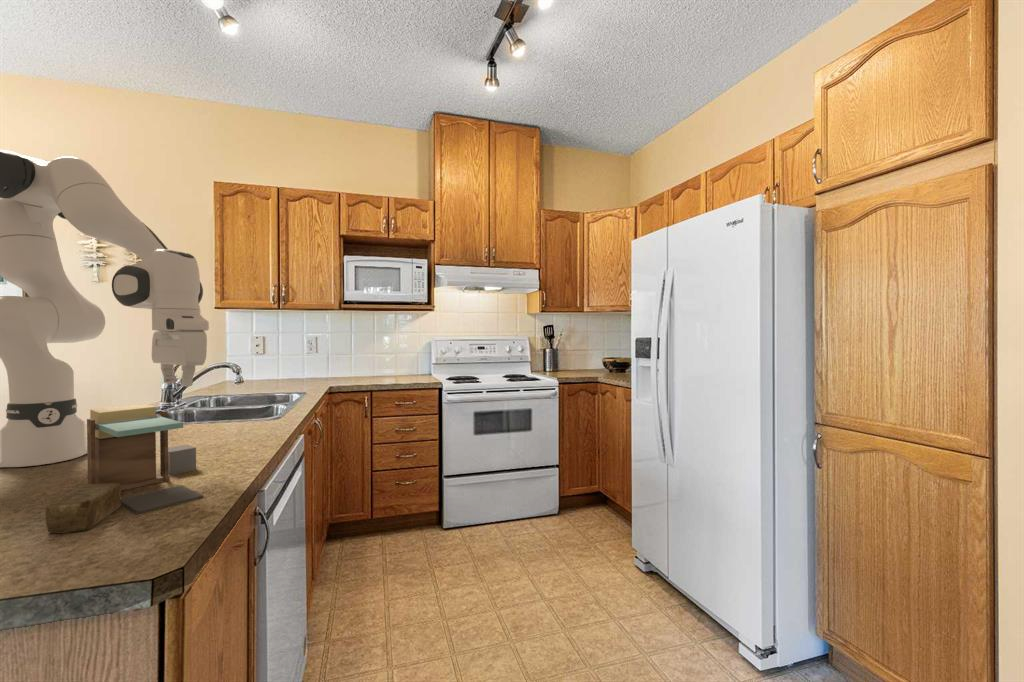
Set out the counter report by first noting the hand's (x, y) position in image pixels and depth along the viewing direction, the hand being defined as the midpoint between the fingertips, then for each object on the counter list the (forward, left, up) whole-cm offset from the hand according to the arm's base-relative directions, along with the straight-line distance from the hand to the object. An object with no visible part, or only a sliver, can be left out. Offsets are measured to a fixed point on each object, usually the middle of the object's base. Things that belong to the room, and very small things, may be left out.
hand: (177, 384), depth 105 cm
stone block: (+20, -20, -20) cm, 34 cm away
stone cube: (0, 0, -19) cm, 19 cm away
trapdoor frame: (+3, -10, -19) cm, 22 cm away
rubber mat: (+19, -9, -19) cm, 28 cm away
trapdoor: (+9, -10, -9) cm, 16 cm away
